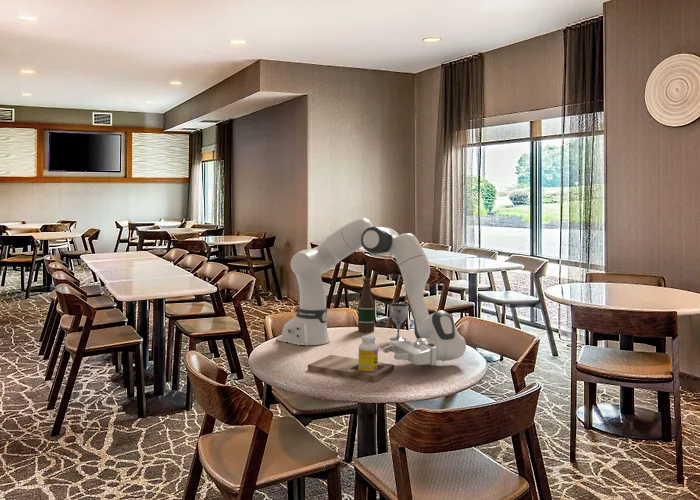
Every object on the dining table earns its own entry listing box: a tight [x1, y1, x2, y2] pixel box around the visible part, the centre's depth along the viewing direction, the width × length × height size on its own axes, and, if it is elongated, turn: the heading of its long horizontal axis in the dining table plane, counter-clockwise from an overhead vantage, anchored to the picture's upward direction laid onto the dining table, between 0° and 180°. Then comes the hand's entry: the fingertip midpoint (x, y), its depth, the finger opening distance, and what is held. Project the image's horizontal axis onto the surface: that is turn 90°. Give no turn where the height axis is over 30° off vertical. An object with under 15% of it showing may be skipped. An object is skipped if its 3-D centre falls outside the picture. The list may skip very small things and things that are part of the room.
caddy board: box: [307, 354, 396, 383], centre depth 213 cm, size 26×16×2 cm, turn 62°
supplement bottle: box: [358, 334, 379, 373], centre depth 209 cm, size 7×7×13 cm
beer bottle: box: [357, 277, 376, 334], centre depth 275 cm, size 8×8×24 cm
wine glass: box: [389, 302, 409, 341], centre depth 260 cm, size 8×8×15 cm
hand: (389, 353), depth 212 cm, fingers open, 8 cm apart
